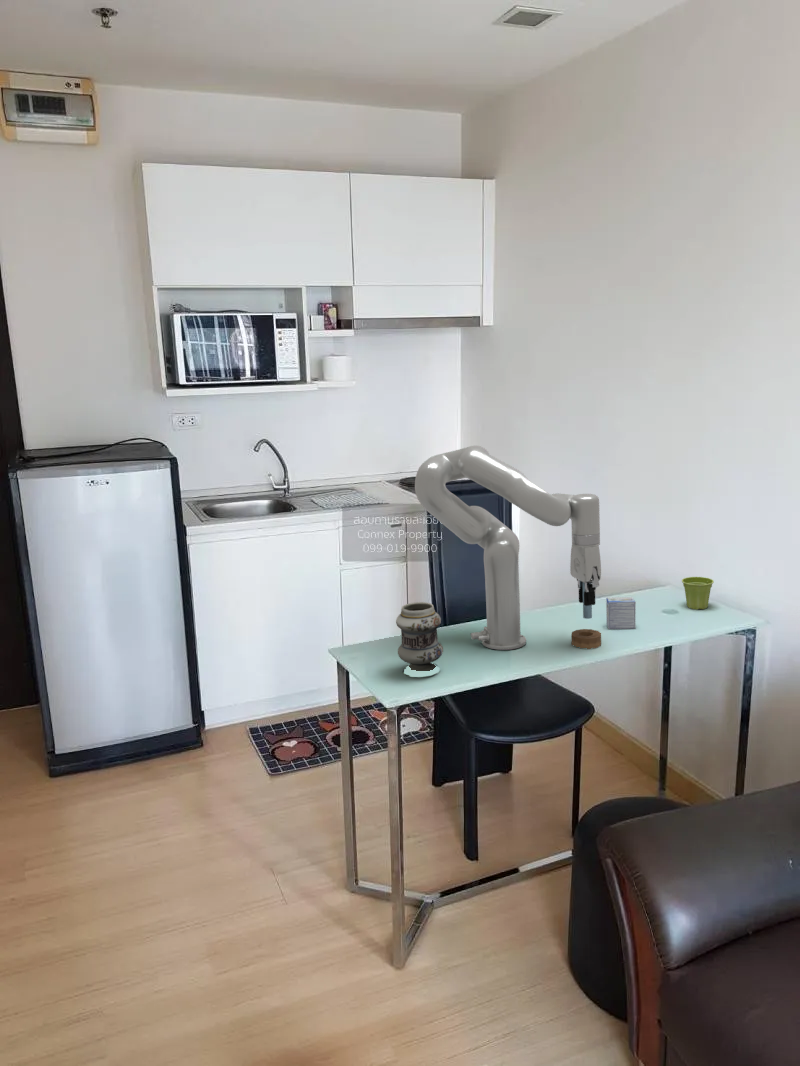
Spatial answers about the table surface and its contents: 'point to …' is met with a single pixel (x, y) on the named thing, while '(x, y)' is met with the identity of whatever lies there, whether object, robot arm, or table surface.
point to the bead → (586, 638)
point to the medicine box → (621, 612)
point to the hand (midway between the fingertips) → (587, 603)
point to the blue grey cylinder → (586, 609)
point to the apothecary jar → (419, 635)
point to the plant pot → (697, 591)
